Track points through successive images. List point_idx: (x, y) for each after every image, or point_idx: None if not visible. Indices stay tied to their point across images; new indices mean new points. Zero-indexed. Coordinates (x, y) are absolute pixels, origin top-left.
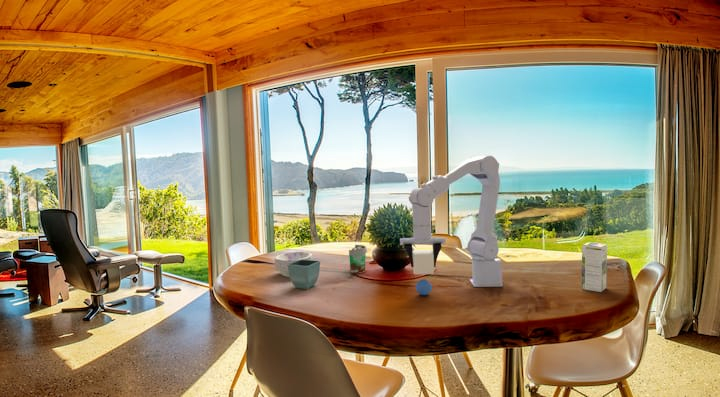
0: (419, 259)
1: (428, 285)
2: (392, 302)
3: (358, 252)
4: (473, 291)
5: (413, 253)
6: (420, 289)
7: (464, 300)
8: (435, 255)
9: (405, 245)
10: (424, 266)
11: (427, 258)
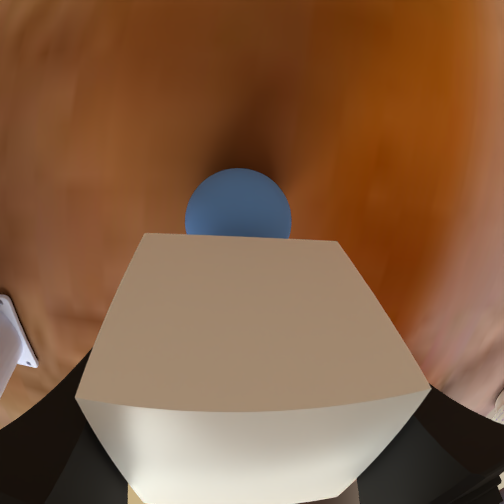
0: (321, 340)
1: (208, 191)
2: (417, 106)
3: None
4: (4, 244)
5: (393, 432)
6: (266, 177)
7: (36, 109)
8: (73, 400)
9: (491, 491)
10: (240, 277)
11: (193, 350)
